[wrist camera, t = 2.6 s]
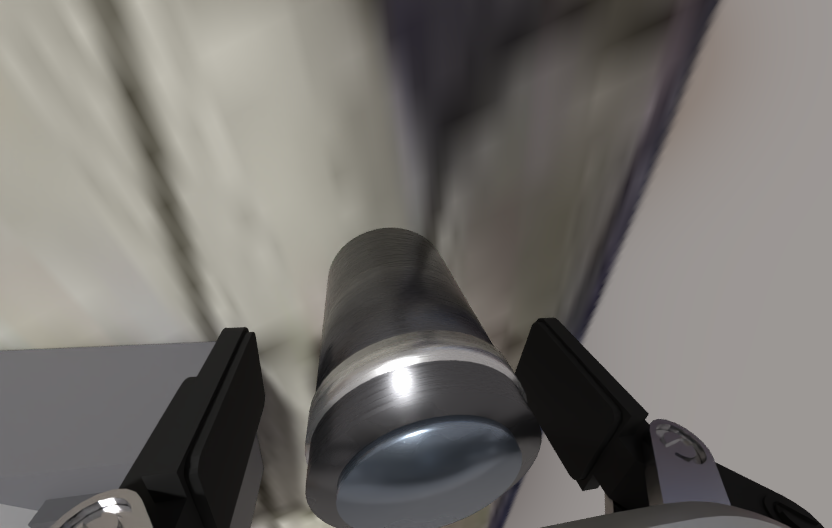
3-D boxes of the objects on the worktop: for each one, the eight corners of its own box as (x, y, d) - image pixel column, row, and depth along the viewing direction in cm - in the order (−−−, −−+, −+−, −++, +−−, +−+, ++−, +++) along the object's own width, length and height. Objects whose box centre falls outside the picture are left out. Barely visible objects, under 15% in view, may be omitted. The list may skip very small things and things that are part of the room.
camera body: (-267, 361, 10) (-1211, 768, 4) (237, 340, 13) (147, 540, 7) (-75, 513, 15) (-372, 805, 9) (263, 468, 18) (221, 655, 12)
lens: (324, 222, 12) (287, 419, 5) (456, 228, 13) (590, 389, 6) (326, 331, 14) (305, 568, 7) (437, 327, 15) (514, 524, 8)
